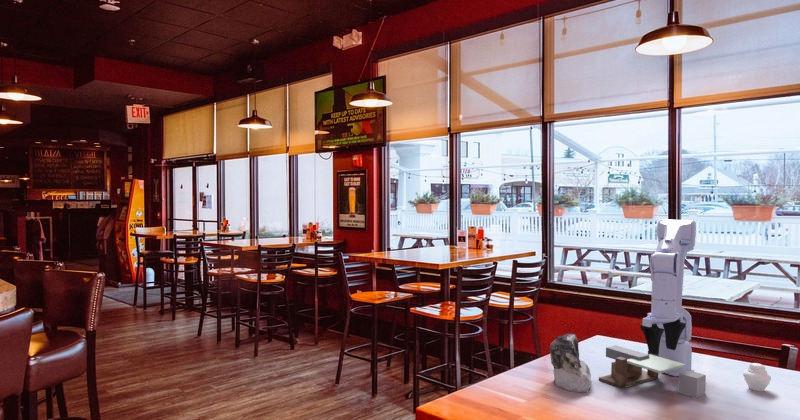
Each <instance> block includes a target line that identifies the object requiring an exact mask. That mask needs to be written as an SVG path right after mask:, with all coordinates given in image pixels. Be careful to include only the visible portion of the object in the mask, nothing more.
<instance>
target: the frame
mask: <svg viewBox="0 0 800 420" xmlns="http://www.w3.org/2000/svg"><path fill="white" fill-rule="evenodd" d="M647 354H648V355H649V354H651V355H655V356H658V357H659V352H658V354H653V353H649V350H647ZM614 360H615V361H612V362H611V369H610V370H611V372H610V374H607V375H603V376H599V377H598V381H600V382H603V383H605V384H608V385H611V386H614V387H616V388H619V389H624V388H627V387H631V386H636V385H639V384H642V383H646V382H649V381H653V380H657V379H659V373H657V372H654V371H651V370H648V369H646V370H647V371H645V370H643V368H641V367H637V366H634V365H631V364H628V363H627V359H626V358H623V357H617V358H615V359H614Z"/></svg>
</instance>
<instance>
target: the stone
mask: <svg viewBox="0 0 800 420" xmlns="http://www.w3.org/2000/svg"><path fill="white" fill-rule="evenodd" d="M549 351H550V353H549V354H550V363H551V365H552V367H553V378H554V383H555V385H557V386H558V387H560V388H561V389H564V390H565V391H568V392H575V393H588V392H589V390H590V388H591V387H592V385H593V380H592V373H591V370H590V367H589V365H588V364H587V363H586V362H585V361H584V360H581V359H580V350H579V339H578V337H577V336H576V334H575V333H569V332H568V333H566V334H563V335H558V336H557V337H556V338H555V339H554V340H553V341H552V342H551V343H550V345H549Z"/></svg>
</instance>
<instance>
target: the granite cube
mask: <svg viewBox="0 0 800 420" xmlns="http://www.w3.org/2000/svg"><path fill="white" fill-rule="evenodd" d="M706 375H707V374H703V373H700V372H696V371H694V372H693V371H689V370H687V371H684V372H681V373H679V376H678V393H680V394H683V395H686V396H688V397H692V398H696V399H697V398H701V397H702V396H704V395H706V384H707V382H706V380H707V379H706V377H707V376H706Z"/></svg>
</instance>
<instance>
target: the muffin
mask: <svg viewBox="0 0 800 420" xmlns="http://www.w3.org/2000/svg"><path fill="white" fill-rule="evenodd" d="M742 376H743V378H744V381H745V382H746V384H747V387H748V388H749V390H752V391H754V392H764V391H765V390H766V388H767V387H768V386H769V385H770V382H771V380H772V377H771V375H770V374H769V373H768V371H767V370H766V367H765V366H764V365H763V364H761V363H758V362H753V363H750V364H749V365H748V367H747V368H746V369H745V370H743V373H742Z"/></svg>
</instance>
